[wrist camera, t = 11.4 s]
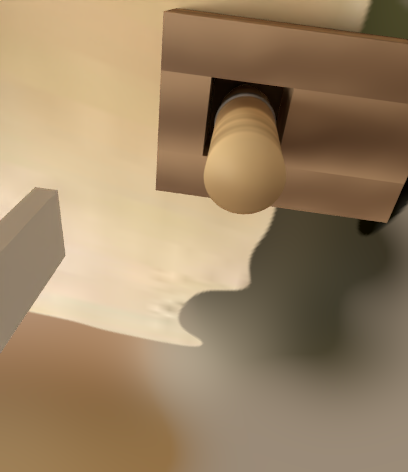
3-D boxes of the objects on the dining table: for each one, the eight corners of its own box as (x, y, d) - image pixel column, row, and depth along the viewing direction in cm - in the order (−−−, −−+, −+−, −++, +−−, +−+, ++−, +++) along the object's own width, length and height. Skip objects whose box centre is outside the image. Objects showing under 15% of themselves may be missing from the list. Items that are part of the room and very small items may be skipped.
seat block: (176, 8, 27) (163, 11, 23) (428, 42, 27) (463, 51, 22) (167, 165, 33) (155, 189, 29) (369, 193, 33) (386, 222, 29)
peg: (222, 74, 29) (207, 130, 17) (276, 81, 29) (297, 143, 17) (215, 127, 31) (198, 209, 20) (265, 134, 31) (277, 220, 19)
